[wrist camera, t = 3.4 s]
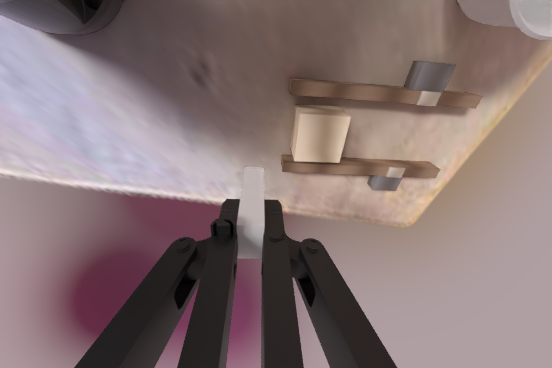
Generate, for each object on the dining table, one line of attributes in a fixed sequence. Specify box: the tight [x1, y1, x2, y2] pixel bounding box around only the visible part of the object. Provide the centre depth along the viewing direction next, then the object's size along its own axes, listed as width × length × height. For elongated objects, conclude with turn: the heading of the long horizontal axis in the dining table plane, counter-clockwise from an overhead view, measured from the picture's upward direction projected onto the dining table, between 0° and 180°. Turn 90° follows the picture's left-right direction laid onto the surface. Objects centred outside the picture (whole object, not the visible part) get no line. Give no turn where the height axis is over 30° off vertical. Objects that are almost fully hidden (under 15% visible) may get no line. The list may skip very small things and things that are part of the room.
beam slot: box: [281, 61, 483, 191], centre depth 29 cm, size 24×18×3 cm
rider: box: [290, 104, 351, 163], centre depth 28 cm, size 6×6×5 cm
